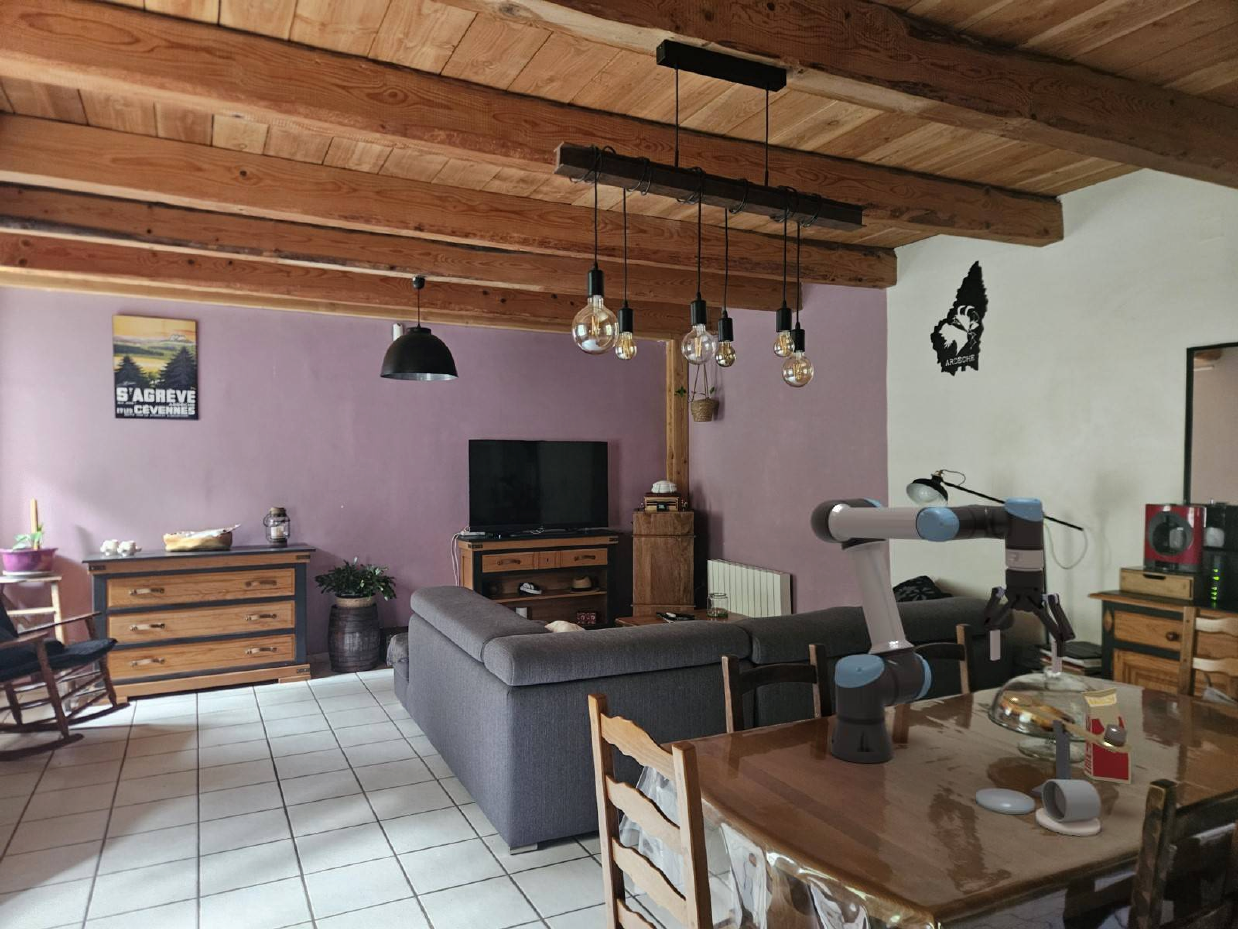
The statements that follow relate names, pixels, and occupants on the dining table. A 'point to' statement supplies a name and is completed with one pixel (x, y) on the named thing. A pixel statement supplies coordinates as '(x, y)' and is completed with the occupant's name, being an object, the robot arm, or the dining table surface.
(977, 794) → the plate near greyblue
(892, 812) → the dining table surface
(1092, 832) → the plate far cream
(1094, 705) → the milk carton
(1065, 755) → the balance stand
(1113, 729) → the balance beam
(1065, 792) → the ceramic mug
